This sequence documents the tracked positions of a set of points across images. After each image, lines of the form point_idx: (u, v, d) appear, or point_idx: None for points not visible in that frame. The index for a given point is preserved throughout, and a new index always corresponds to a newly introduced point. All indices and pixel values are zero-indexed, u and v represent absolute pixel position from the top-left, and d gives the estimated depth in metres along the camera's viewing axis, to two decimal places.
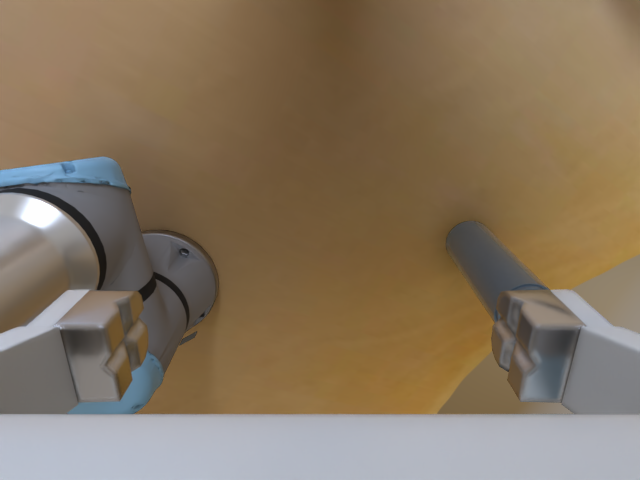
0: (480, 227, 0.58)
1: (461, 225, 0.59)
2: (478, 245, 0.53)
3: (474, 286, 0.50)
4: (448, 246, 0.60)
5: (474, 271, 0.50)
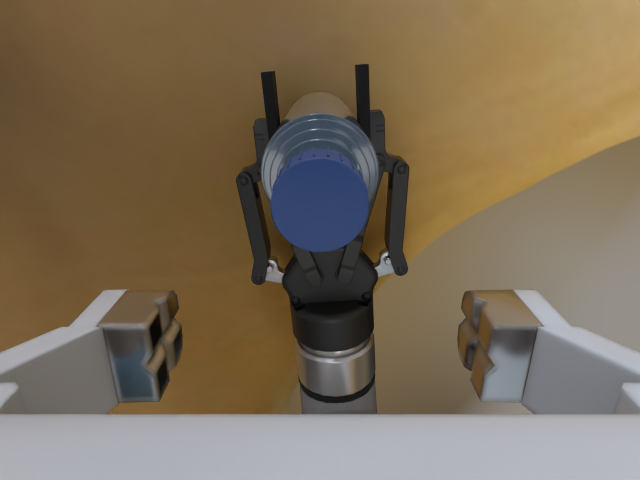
0: (327, 94, 0.37)
1: (303, 96, 0.39)
2: (301, 102, 0.32)
3: None
4: None
5: None
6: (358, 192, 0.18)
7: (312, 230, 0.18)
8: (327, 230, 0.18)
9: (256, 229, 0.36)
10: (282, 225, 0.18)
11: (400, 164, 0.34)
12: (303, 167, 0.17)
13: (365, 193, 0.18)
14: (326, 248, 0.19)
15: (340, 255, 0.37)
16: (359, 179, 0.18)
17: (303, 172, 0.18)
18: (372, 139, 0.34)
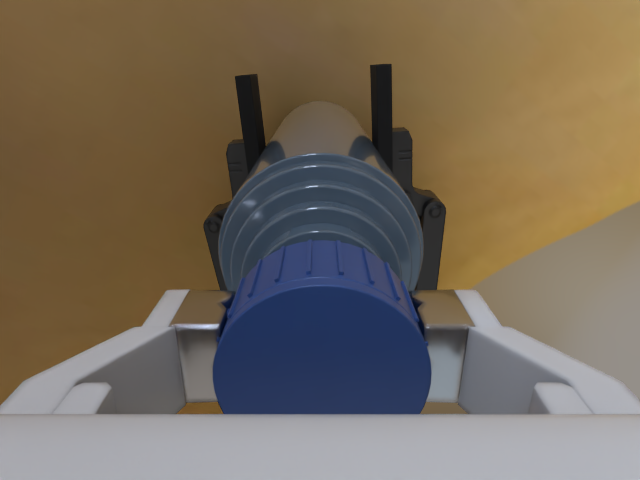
0: (330, 105, 0.27)
1: (298, 107, 0.29)
2: (293, 119, 0.22)
3: None
4: None
5: None
6: (409, 354, 0.08)
7: None
8: None
9: None
10: None
11: (433, 205, 0.24)
12: (284, 304, 0.07)
13: (425, 356, 0.08)
14: None
15: None
16: (413, 329, 0.08)
17: (284, 314, 0.08)
18: (394, 170, 0.24)
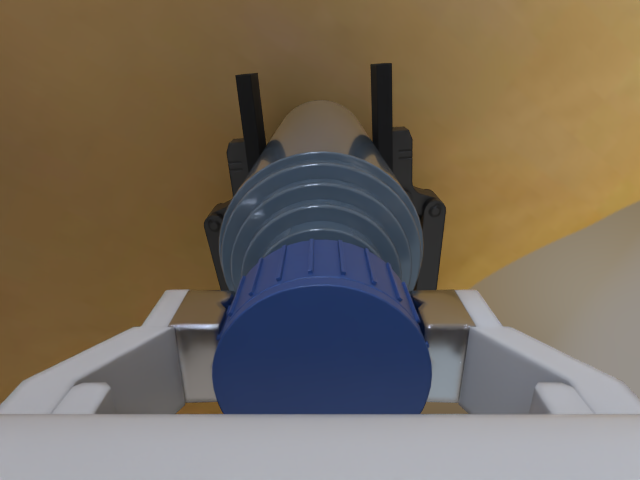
0: (330, 104, 0.27)
1: (298, 106, 0.29)
2: (293, 118, 0.22)
3: None
4: None
5: None
6: (300, 303, 0.07)
7: (373, 402, 0.08)
8: (380, 375, 0.08)
9: None
10: None
11: (433, 204, 0.25)
12: (228, 399, 0.08)
13: (305, 289, 0.07)
14: (422, 384, 0.08)
15: None
16: (268, 298, 0.07)
17: (240, 400, 0.08)
18: (394, 169, 0.24)
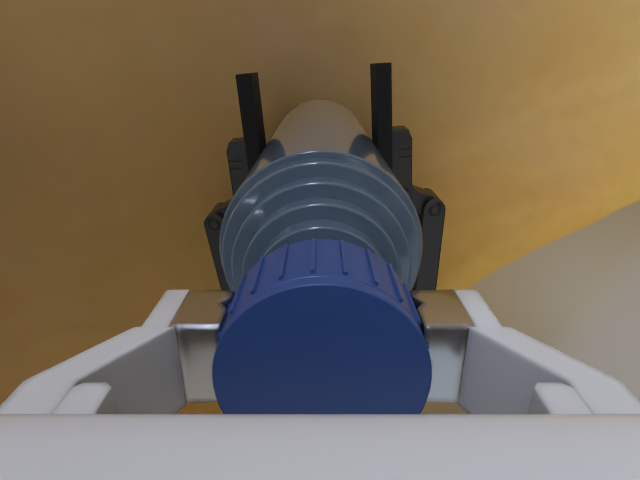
0: (330, 103, 0.27)
1: (298, 105, 0.29)
2: (293, 117, 0.22)
3: None
4: None
5: None
6: (230, 385, 0.08)
7: (356, 341, 0.08)
8: (322, 332, 0.08)
9: None
10: (417, 371, 0.08)
11: (433, 203, 0.25)
12: None
13: (215, 381, 0.08)
14: (340, 295, 0.07)
15: None
16: (222, 408, 0.08)
17: None
18: (394, 168, 0.24)
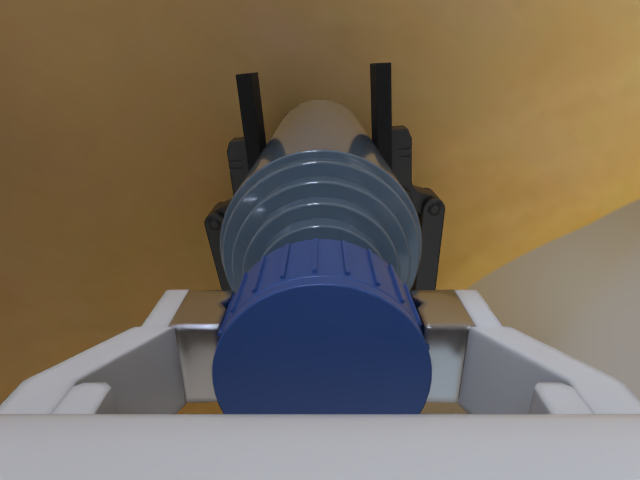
0: (330, 103, 0.27)
1: (298, 105, 0.29)
2: (293, 117, 0.23)
3: None
4: None
5: None
6: None
7: (279, 347, 0.08)
8: (264, 373, 0.08)
9: None
10: (323, 299, 0.07)
11: (432, 202, 0.25)
12: (417, 391, 0.08)
13: None
14: (223, 356, 0.08)
15: None
16: None
17: (407, 386, 0.08)
18: (394, 168, 0.24)
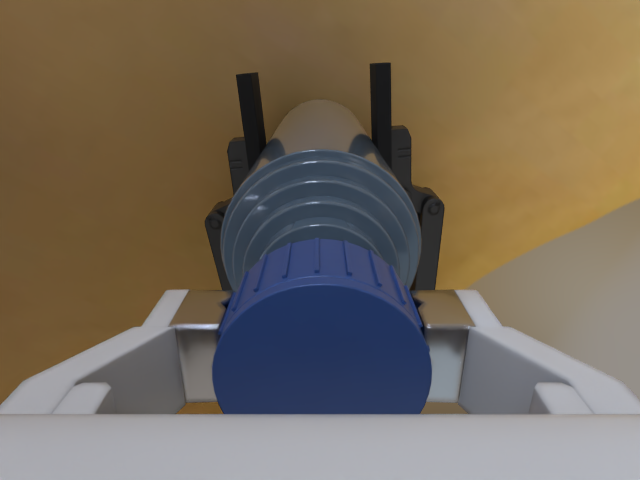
0: (330, 103, 0.27)
1: (298, 105, 0.29)
2: (293, 117, 0.23)
3: None
4: None
5: None
6: (408, 401, 0.08)
7: (276, 408, 0.08)
8: None
9: None
10: (227, 369, 0.08)
11: (432, 202, 0.25)
12: (350, 300, 0.07)
13: (419, 409, 0.08)
14: None
15: None
16: (429, 383, 0.08)
17: (342, 308, 0.08)
18: (393, 167, 0.25)
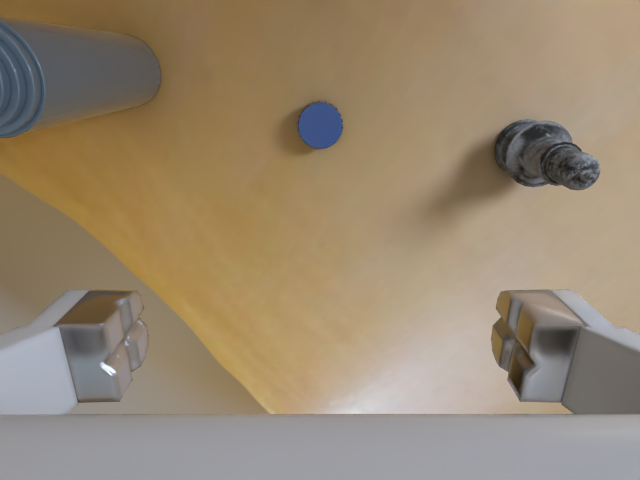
0: (150, 73, 0.38)
1: (147, 49, 0.39)
2: (114, 47, 0.33)
3: None
4: None
5: (58, 24, 0.29)
6: (338, 131, 0.40)
7: (310, 133, 0.40)
8: (316, 137, 0.41)
9: None
10: (301, 123, 0.40)
11: None
12: (325, 107, 0.40)
13: (340, 133, 0.40)
14: (310, 144, 0.41)
15: None
16: (341, 126, 0.40)
17: (324, 108, 0.40)
18: None
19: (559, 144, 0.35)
